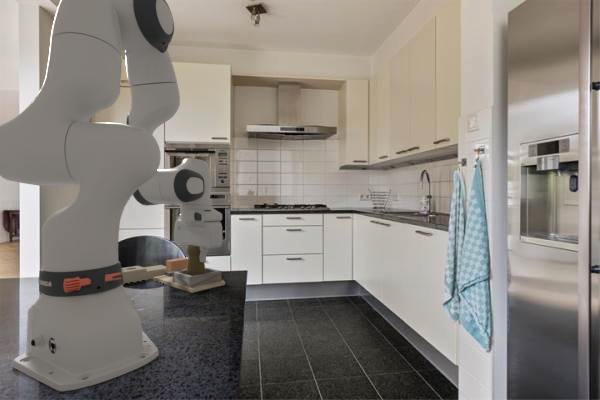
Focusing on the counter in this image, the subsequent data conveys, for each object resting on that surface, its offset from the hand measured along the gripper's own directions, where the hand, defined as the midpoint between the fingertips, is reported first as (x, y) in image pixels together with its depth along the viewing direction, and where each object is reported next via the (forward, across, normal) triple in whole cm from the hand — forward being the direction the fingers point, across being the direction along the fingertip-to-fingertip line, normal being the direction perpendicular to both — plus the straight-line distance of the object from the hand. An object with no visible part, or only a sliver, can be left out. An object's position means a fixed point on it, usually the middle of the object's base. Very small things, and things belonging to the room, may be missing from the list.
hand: (196, 260), depth 100 cm
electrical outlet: (+8, -22, -8) cm, 24 cm away
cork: (+6, 0, 0) cm, 6 cm away
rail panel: (+7, -5, 0) cm, 9 cm away
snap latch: (+4, -11, 0) cm, 12 cm away
